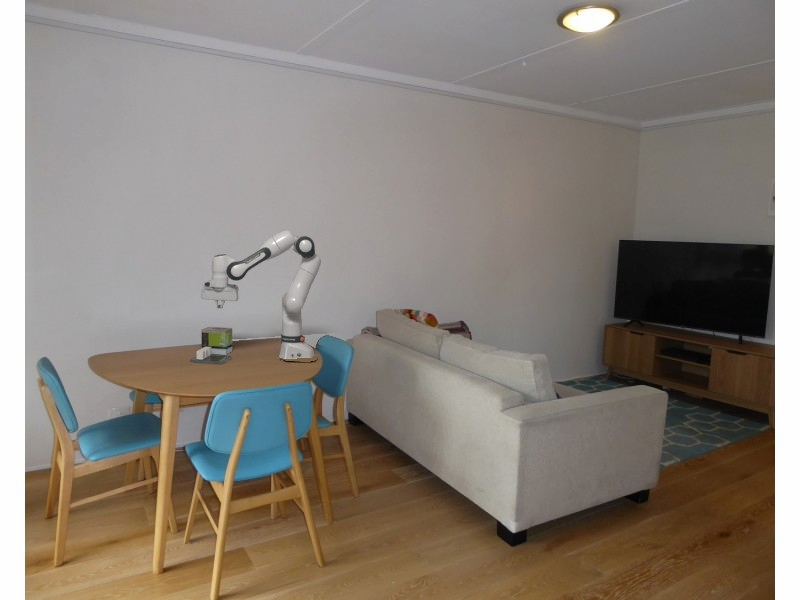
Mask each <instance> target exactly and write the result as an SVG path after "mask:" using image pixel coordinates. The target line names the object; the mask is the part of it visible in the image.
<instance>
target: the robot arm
mask: <svg viewBox="0 0 800 600" xmlns="http://www.w3.org/2000/svg"><path fill="white" fill-rule="evenodd" d="M315 246H316V245H315V241H314V240H313V238H311V237H309V236H307V235H300V236H295V234H294V233H293V232H292V231H290V229H285V230H282V231H279V232H278V233H276V234H274V235H272V236H270V237H269V238H267V239H266V240H265V241H264V242H262V243H261V245H260V246H259V248H258V249H257V250H256V251H255V252H254V253H252V254H250V255H249V256H248V257H245V258H244V259H242V260H237V259H235V258H233V257H231V256H229V255H228V254H224V253H223V254H218V255H214V256H213V258H212V261H211V272H212V273H211V274H212V275H211V280H208V281H205V282H202V286H203V287H201V291H200V298H201V300H206V301H207V300H208V301H209V300H210V301H214V304H215V305H216V309H222V310H223V309H224V308H223V307H224V305H225V303H226V301H227V302H237V301H238V300H239V286H238V285H237V284H233V283H229V279H230V280H232V281H240V280H243V278H245V276H246V275H247V273H248V272H249V271H250V270H252V269H253V268H255V267H256V266H259V264H261V263H263V262H266V261H269V260H271V259H274V258H276V257H279V256H280V255H282V254H284V253H285V252H287V251H290V250H293V251H294V252H295V253H296V254H297V255H300V256H301V261H300V264H299V266H298V267H297V270H296V272H295V274H294V276H293V279H292V281H291V284H290V287H289V289H288V290H287V292H284V294H283V296H282V299H281V319H282V320H281V322H282V323H281V325H282V326H281V335H280V352H279V356H278V358H279V357H280V358H283V359H297V358H312V357H313V356H315V350H314V348H313V347H312V346H311V345H310V344H308V343H307V342H306V341H305V340H306V339H305V337H306V336H305V335H303V334H302V329H303V327H302V325H303V321H302V320H303V319H302V309H303V308H304V305H305V302H306V300H307V298H308V294H309V292H310V290H311V288H312V285H313V283H314V281H315V279H316V277H317V275H318V272H319V270H320V267H321V263H322V259H321V257H320V256H319V255H318V254H317V253H316V250H315V249H316V248H315ZM219 301H220V303H221V304H219Z"/></svg>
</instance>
